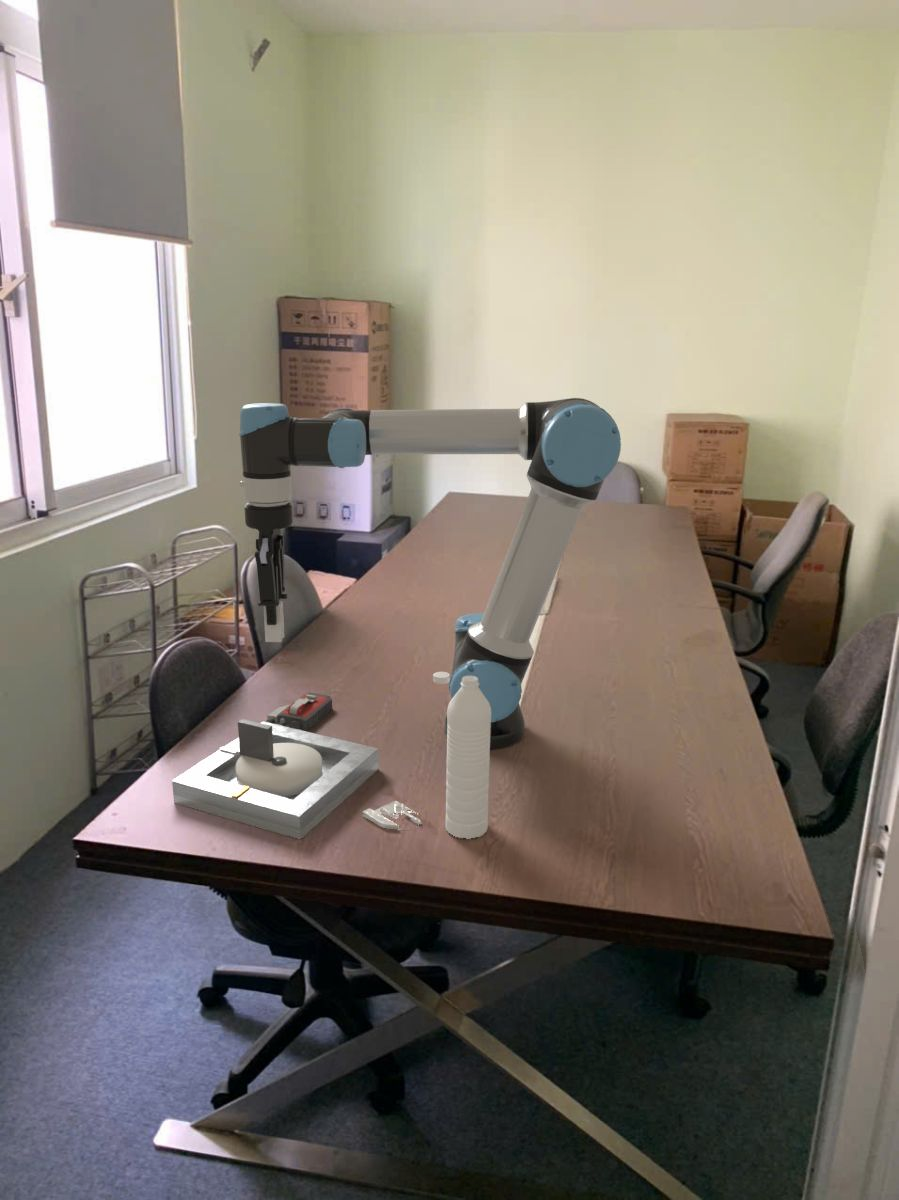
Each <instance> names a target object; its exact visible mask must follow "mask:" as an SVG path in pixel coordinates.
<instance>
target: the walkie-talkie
mask: <svg viewBox="0 0 899 1200" xmlns="http://www.w3.org/2000/svg"><path fill="white" fill-rule="evenodd" d="M332 711H333V699H332V697H331V696H330V695H328V694H321V693H315V692H308V693H305V694H302V696H300V697H299V698H297V699H296V700H295V701H293V702H292V703H291V704H287V705H284V706H279V707H277V708H276V709H275V710H273V711H272V712H271V713H269V714H267V715H266V718H267V719H266V721H265V722H268V723H272V724H276V725H281V726H285V727H289V728H293V729H298V730H302V731H306V732H309V731H310V730H311V729H312V727H314V726H316V725H317V724H318V723H319V722H320V721H321V720H322V719H323V718H324V717H325V716H327V715H328V714H329V713H330V712H332Z"/></svg>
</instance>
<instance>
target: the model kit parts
mask: <svg viewBox="0 0 899 1200" xmlns="http://www.w3.org/2000/svg"><path fill="white" fill-rule="evenodd" d="M407 810H411V811H407ZM412 811H413V812H412ZM394 813H396V814H394ZM398 813H401V815H402V814H405V815H407V816H408V817H407V818H410V821H411V820H412V821H413V822H412V821H411V822H412V823H414V822H415V823H417V824H418V826H420V825H422V824H421V823H422V822H421V818H419V817H416V816H415V815H413V813H414V814H416V813H417V814H416V815H418V814H419V812H416V810H413V809H411V808H409V807H408V806H406V804H405V803H401V802H400V801H398V800H394V801H391V802H389V803H386V804H385V805H382V806H381V807H379V808H377V809H372V808H370V807H369V808H367V809H365V810H362V818H364V817H365V818H364V819H365V820H367V819H368V820H367V821H369V820H370V821H369V822H371V821H372V822H374V823H375V824H374V823H373V824H374V825H376V824H377V825H378V826H377V825H376V826H377V827H379V826H380V827H382V828H387V829H386V830H389V829H397V830H396V831H399V830H400V829H399V825H397V824H396V823H394V822H393V821H391V820H389V819H388V818H386V817H384V816H383V815H381V814H384V815H388V816H390V817H392V818H394V819H397V818H399V814H398ZM410 813H412V814H410ZM372 822H371V823H372ZM415 823H414V824H415ZM417 824H416V825H417ZM419 824H420V825H419ZM380 827H379V828H380ZM382 828H381V829H382Z"/></svg>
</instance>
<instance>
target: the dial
mask: <svg viewBox="0 0 899 1200" xmlns="http://www.w3.org/2000/svg"><path fill="white" fill-rule="evenodd" d="M237 730H238V731H237V732H238V737H239V748H240V755H242V756H241V757H240V758H239V759H238V760H237V763H236V779H237V784H238V785H240V786H248V787H249V788H251V789H255V790H259V791H262V792H266V793H270V794H273V795H277V796H281V797H287V796H292V795H296V794H299V793H302V792H303V791H304V790H306V789H307V788H308V787H309V786H310V785H312V784H313V783H314V782H315V781H317V780H318V779H319V778H320V777H321V776H322V757H321V755H320V753H319V752H318V751H316V750H315V749H313V748H311V747H309V746H306V745H302V744H297V743H274V744H273V734H272V726H270V725H265V724H261V722H256V721H253V720H248V719H243V718H241V719H240V720H239V721H237Z"/></svg>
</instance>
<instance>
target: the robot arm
mask: <svg viewBox="0 0 899 1200" xmlns="http://www.w3.org/2000/svg"><path fill="white" fill-rule="evenodd" d="M239 425H240V427H239V428H240V429H239V431H240V432H239V439H240V451H241V452H240V453H241V463H242V476H243V477H242V478H243V480H241V481H240V482H239V486H240V487H241V488H244V489H243V496H244V501H246V503H245V505H244V519H245V525H246V527H248V528H250V529H253V530H257V531H258V538H256V539H255V548H256V551H255V552H254V558H255V562H256V563H255V564H256V571H257V580H258V581H257V582H258V592H259V601H258V603H257V604H258V606H259V607H263V621H264V638H265V639H264V640H265V643H282V642H283V639H284V638H285V622H284V621H285V619H284V618H285V617H284V603H283V602H284V601H283V600H287V599H288V593H284V592H285V590H286V588H285V539H286V537H285V534H283V533H282V534H281V530H283V529H286V528H289V527H291V526H292V524H293V504H292V503H291V502H290V501H291V500H292V498H293V492H292V487H293V486H292V474H291V466H292V467H299V466H302V467H308V466H309V467H325V468H326V467H328V468H338V469H344V468H357V467H361V466H362V465H363V464H364V462H365V458H366V456H371V455H373V456H374V455H518V456H520V457H521V458H522V459H523V460H524V461H530V464H529V468H528V470H527V472H526V474H525V475H526V478H527V481H528V483H529V485H530V488H531V489H530V491H529V493H528V497H527V500H526V502H525V504H524V507H523V510H522V512H521V516H520V518H519V520H518V524H517V525H516V528H515V531H514V534H513V536H512V539H511V541H510V544H509V547H508V549H507V552H506V553H505V557H504V560H503V562H502V566H501V567H500V571H499V573H498V576H497V578H496V581H495V583H494V586H493V589H492V591H491V594H490V597H489V599H488V602H487V605H486V607H485V610H484V612H480V613H479V612H478V613H468V614H463V615H461V616H459V617H458V618H457V620H456V622H455V629H454V634H455V636H454V637H455V639H454V640H455V642H454V656H453V657H454V658H453V662H452V669H451V674H450V682H448V685H449V687H448V690H449V694H450V699H451V700H452V698H453V697H454V696H455V694H456V693H457V692H458V690H459V689H460V688H461V684H460V683H461V682H462V678H463V677H464V676H475V677H477V678H478V683H479V686H478V687H479V689H480V690H481V692H482V693H483V695H484V696H485V697H486V699H487V700H488V702H489V704H490V707H491V724H490V725H491V728H490V750H499V749H504V748H509V747H511V746H513V745H515V744H518V742H520V741H522V739H523V738H524V735H525V724H526V723H525V718H524V715H523V712H522V709H521V706H520V702H521V701H520V700H521V699H522V693H523V689H522V683H523V681H524V678H525V676H526V674H527V671H528V670H529V669H528V668H529V666H530V664H531V661H532V657H533V656H534V653H535V652H534V648H533V647H532V645H531V642H530V639H531V637H532V634H533V631H534V629H535V626H536V624H537V622H538V619H539V616H540V615H541V612H542V609H543V607H544V604H545V601H546V599H547V597H548V595H549V591H550V589H551V586H552V585H553V582H554V579H555V577H556V574H557V572H558V570H559V567H560V564H561V562H562V559H563V557H564V554H565V552H566V549H567V547H568V544H569V543H570V540H571V537H572V535H573V532H574V529H575V527H576V525H577V523H578V520H579V518H580V515H581V513H582V510H583V508H584V507H586V506H588V505H591V504H593V503H595V502H596V501H597V498H598V496H599V493H600V492H601V489H602V486H603V484H604V483H605V482H604V481H605V479H606V478H608V477H609V475H610V474H611V473H612V472H613V470H614V469H615V467H616V466H617V463H618V461H619V458H620V455H621V450H622V449H621V448H622V442H621V434H620V430H619V427H618V425H617V422H616V421H615V419H614V418H613V417H612V416H611V414H610V413H609V412H608V411H606V409H604V408H602V407H600V406H599V405H598V404H597V403H595V402H592V401H591V400H589V399H585V398H581V397H571V398H565V399H558V400H557V399H556V400H550V401H549V400H548V401H537V402H536V401H535V402H530V401H529V402H527V401H526V402H524V403H523V404H522V405H521V406H520V407H519V408H466V409H465V408H464V409H463V408H462V409H460V408H459V409H457V408H456V409H454V408H452V409H451V408H450V409H446V408H445V409H371V410H361V409H357V410H355V409H352V408H337V409H335V410H332V411H330V412H329V413H328V414H327V415H325V416H323V417H294V416H290V413H289V409H288V406H287V405H286V404H284V403H274V402H273V403H272V402H271V403H270V402H261V403H260V402H257V403H249V404H245V405H243V406H242V408H241V409H240V411H239ZM447 723H448V722H447V714H445V719H444V734H445V736H446V737H447Z"/></svg>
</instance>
